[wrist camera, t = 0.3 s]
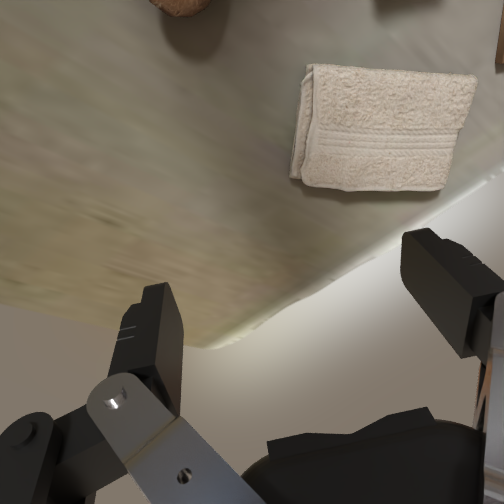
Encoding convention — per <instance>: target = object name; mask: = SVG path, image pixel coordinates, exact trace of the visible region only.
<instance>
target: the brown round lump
mask: <svg viewBox="0 0 504 504" xmlns="http://www.w3.org/2000/svg"><path fill="white" fill-rule="evenodd" d="M149 1H150V2H151V3H152V4H154V5H155V6H156V7H158V8H159V9H160V10H162V11H163V12H165V13H166V14H167V15H169V16H174V17H192V16H194V15H195V14H197V13H199V12H200V11H202V10H204V9H205V8H206V7H207V6H208V5H209V3H210V2H211V0H149Z"/></svg>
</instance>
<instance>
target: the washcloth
mask: <svg viewBox="0 0 504 504" xmlns="http://www.w3.org/2000/svg"><path fill="white" fill-rule="evenodd" d="M477 85H478V80H477V77H476V76H473V74H470V75H462V74H460V75H457V74H452V73H451V72H450V73H449V74H442V73H426V72H423V73H422V72H421V73H420V71H418V72H413V71H405V70H404V71H403V70H394V69H392V70H386V69H385V70H384V69H367V68H363V67H356V68H355V67H354V66H351V67H350V66H348V67H347V66H344V67H343V66H341V65H334V64H330V65H329V64H316V63H314V64H307V65H306V76H305V78H304V79H303V81H302V82H301V84H300V86H301V90H300V95H299V100H298V107H297V114H296V116H297V117H296V129H295V136H294V142H293V148H292V155H291V162H290V173H289V177H290V178H295V179H302V181H303V183H304V184H306V185H307V186H312V187H323V188H332V189H340V190H343V191H347V192H352V191H388V192H390V191H436V190H439V189H444V186H445V184H446V181H447V178H448V175H449V170H450V168H451V162H452V158H453V150H454V147H455V144H456V140H457V137H458V132H459V131H460V129H462V128H463V126H464V123H465V119H466V118H467V115H468V113H469V110H470V105H471V104H472V100H473V98H474V94H475V91H476V88H477Z"/></svg>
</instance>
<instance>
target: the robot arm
mask: <svg viewBox="0 0 504 504" xmlns="http://www.w3.org/2000/svg"><path fill="white" fill-rule="evenodd" d="M400 272H401V278H402V281H403V283H404V285H405V287H406V288H407V290H408V291H409V292H410V294H411V295H412V296H413V297H414V299H415V300H416V301H417V303H418V304H419V305H420V307H421V308H422V309H423V310H424V312H425V313H426V314H427V316H428V317H429V318H430V319H431V321H432V322H433V323H434V324H435V326H436V327H437V328H438V330H439V331H440V332H441V334H442V335H443V336H444V337H445V339H446V340H447V341H448V343H449V344H450V345H451V346H452V348H453V349H454V350H455V352H456V353H457V354H458V355H459V357H460V358H461V359H462V358H467V357H471V356H477V357H478V358H479V359H480V360H481V362H480V366H479V373H478V382H477V391H476V401H475V409H474V418H473V425H472V427H469V426H466V425H463V424H460V423H456V422H452V421H446V420H437V419H434V418H433V416H432V414H431V413H430V411H429V409H428V407H423V408H418V409H414V410H409V411H405V412H400V413H395V414H391V415H387V416H385V417H383V418H382V419H379V420H377V421H376V422H374V423H372V424H370V425H368V426H366V427H364V428H362V429H360V430H358V431H356V432H354V433H352V434H323V433H303V434H299V435H294V436H290V437H285V438H280V439H276V440H272V441H267V446H268V453H269V454H268V455H267V456H265V457H263V458H261V459H260V460H259V461H257V462H255V463H254V464H253V465H251V466H250V467H249V468H248V469H247V470H246V471H245V472H244V473H243V474H242V475H241V476H239V475H238V474H237V473H236V472H235V471H234V470H233V469H232V468H231V466H230V465H229V464H228V463H227V462H226V461H225V460H224V459H223V458H222V457H221V456H220V455H219V454H218V453H217V452H216V451H215V450H214V449H213V448H212V447H211V446H210V445H209V444H208V443H207V442H206V441H205V440H204V439H203V438H202V437H201V436H200V435H199V434H198V433H197V431H195V429H193V427H192V426H191V425H190V424H189V423H188V422H187V421H186V420H185V419H184V418H183V417H181V416H180V402H181V380H182V358H183V338H184V330H183V323H182V319H181V315H180V313H179V310H178V307H177V304H176V302H175V299H174V296H173V293H172V291H171V288H170V286H169V284H168V282H164V283H160V284H155V285H150V286H145V287H144V290H143V295H142V300H141V303H137V304H133V305H131V306H130V308H129V309H128V310H127V312H126V313H125V314H124V316H123V318H122V322H121V325H120V331H119V333H118V337H117V340H118V341H116V345H115V349H114V353H113V357H112V361H111V365H110V369H109V373H108V377H107V378H106V379H104V380H103V381H101V382H100V383H99V384H98V385H97V386H96V387H95V388H94V389H93V390H92V392H91V393H90V395H89V397H88V400H87V404H85V405H84V406H82V407H80V408H78V409H76V410H74V411H72V412H70V413H68V414H66V415H64V416H62V417H60V418H58V419H56V420H53V419H52V417H51V416H50V415H49V414H47V413H44V412H35V413H31V414H28V415H26V416H23V417H21V418H20V419H18V420H17V421H15V422H14V423H12V424H11V425H10V426H9V427H8V428H7V429H6V430H5V431H4V432H3V433H2V434H1V435H0V504H94V502H95V496H96V491H97V490H99V489H101V488H103V487H104V486H106V485H108V484H110V483H111V482H113V481H115V480H117V479H118V478H120V477H122V476H124V475H126V474H127V473H129V475H130V476H131V478H132V479H133V481H134V482H135V484H136V485H137V486H138V488H139V489H140V491H141V492H142V494H143V495H144V497H145V498H146V500H147V501H148V502H149V504H504V280H502V279H501V278H500V277H499V276H498V275H497V274H496V273H494V272H493V271H492V270H491V269H490V268H488V267H487V266H486V265H485V264H482V262H481V261H480V260H479V259H478V258H477V257H476V256H473V254H472V253H471V252H470V251H468V250H467V249H466V248H465V247H464V246H463V245H461V244H458V243H456V242H454V241H451V240H449V239H441V238H440V237H439V236H438V235H437V234H435V233H434V232H433V231H432V230H431V229H430V228H422V229H418V230H413V231H408V232H405V233H404V234H403V236H402V248H401V266H400Z"/></svg>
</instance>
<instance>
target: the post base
mask: <svg viewBox="0 0 504 504" xmlns="http://www.w3.org/2000/svg"><path fill="white" fill-rule="evenodd" d="M495 63H501V64H503V63H504V6H503V13H502V20H501V26H500V33H499V40H498V47H497V53H496V60H495Z"/></svg>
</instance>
